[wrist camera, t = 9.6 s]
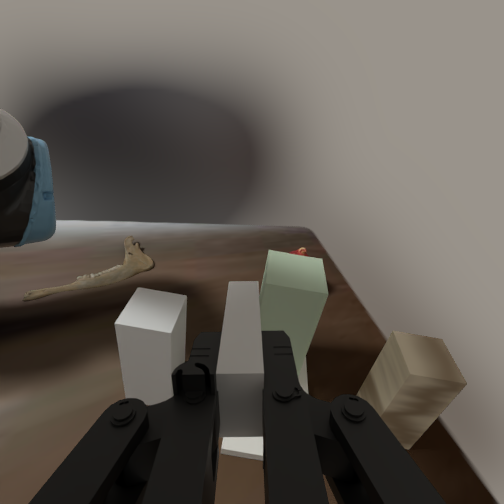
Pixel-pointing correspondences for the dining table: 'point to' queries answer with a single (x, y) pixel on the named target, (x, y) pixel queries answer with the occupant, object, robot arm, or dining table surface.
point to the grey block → (151, 343)
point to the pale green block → (293, 299)
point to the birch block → (411, 384)
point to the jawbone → (104, 273)
